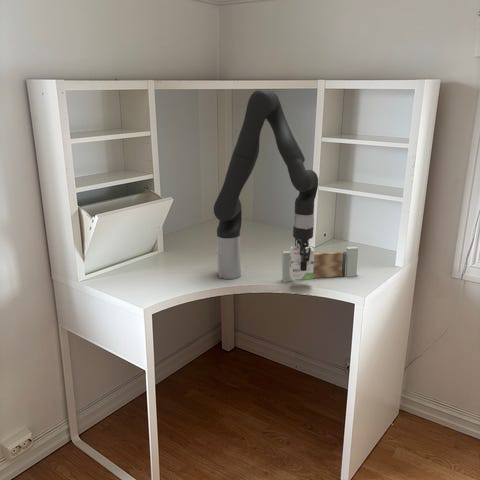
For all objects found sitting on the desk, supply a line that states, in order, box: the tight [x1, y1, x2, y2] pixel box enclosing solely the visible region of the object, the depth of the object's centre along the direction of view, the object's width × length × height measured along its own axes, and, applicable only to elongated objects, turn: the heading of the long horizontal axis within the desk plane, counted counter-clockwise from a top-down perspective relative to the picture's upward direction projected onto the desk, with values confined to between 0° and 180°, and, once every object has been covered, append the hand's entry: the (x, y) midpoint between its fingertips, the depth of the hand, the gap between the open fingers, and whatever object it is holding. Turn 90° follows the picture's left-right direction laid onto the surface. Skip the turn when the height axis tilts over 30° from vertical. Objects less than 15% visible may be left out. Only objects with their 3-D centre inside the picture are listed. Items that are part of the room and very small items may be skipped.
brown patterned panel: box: [313, 251, 346, 279], centre depth 196 cm, size 20×2×10 cm, turn 96°
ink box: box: [289, 246, 315, 280], centre depth 186 cm, size 9×5×12 cm, turn 92°
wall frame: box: [281, 246, 359, 283], centre depth 195 cm, size 30×2×12 cm, turn 99°
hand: (301, 267), depth 186 cm, fingers closed on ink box, 5 cm apart
